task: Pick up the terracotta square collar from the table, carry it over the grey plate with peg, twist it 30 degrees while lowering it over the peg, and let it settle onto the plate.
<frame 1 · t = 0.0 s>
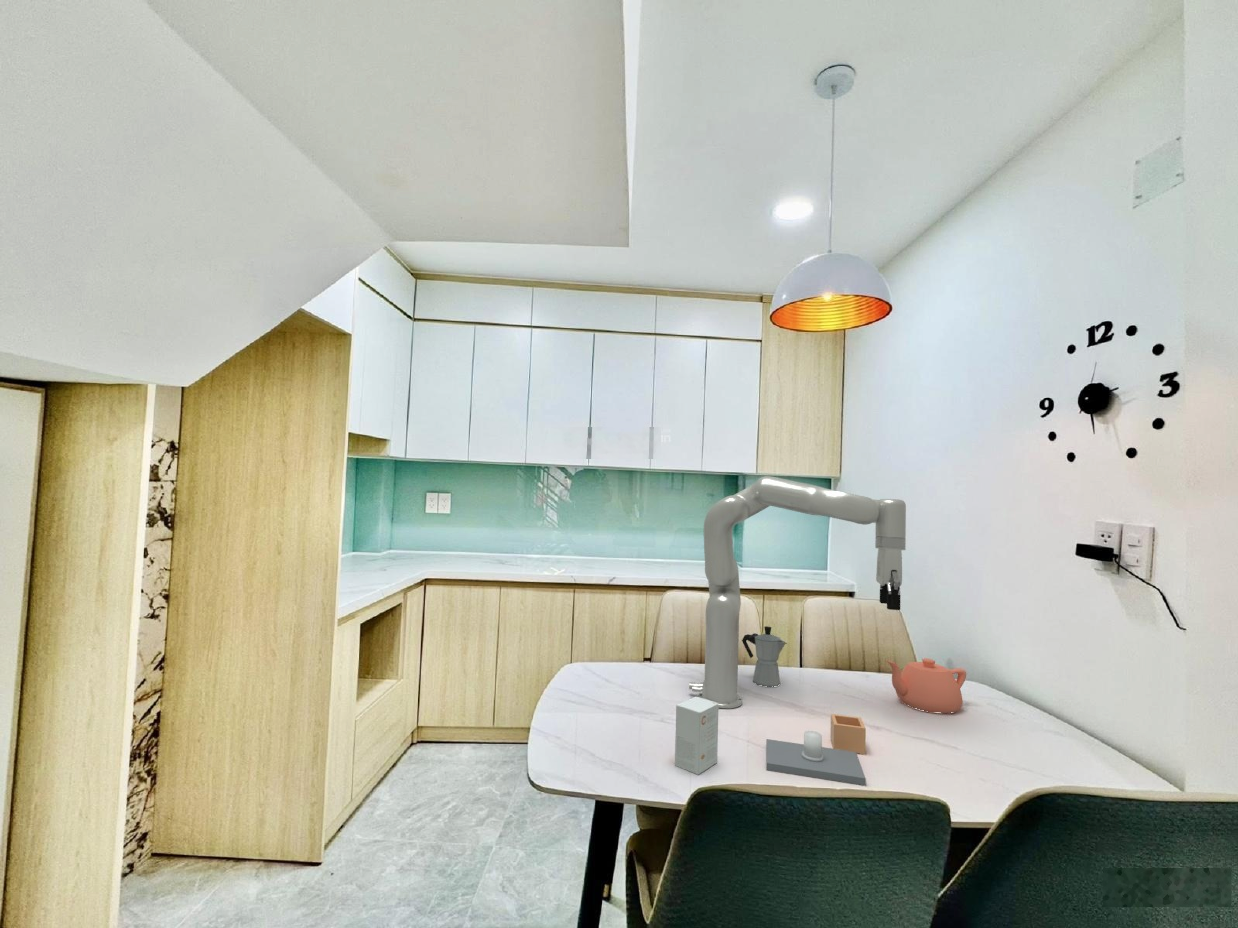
hand: (889, 606, 154), 31 cm above the table, tool pointing down, fingers open, 9 cm apart
small box: (695, 765, 123), on the table
grey plate with peg: (812, 764, 126), on the table
coffee maker: (763, 683, 182), on the table
teapot: (925, 705, 167), on the table
collar: (847, 746, 136), on the table
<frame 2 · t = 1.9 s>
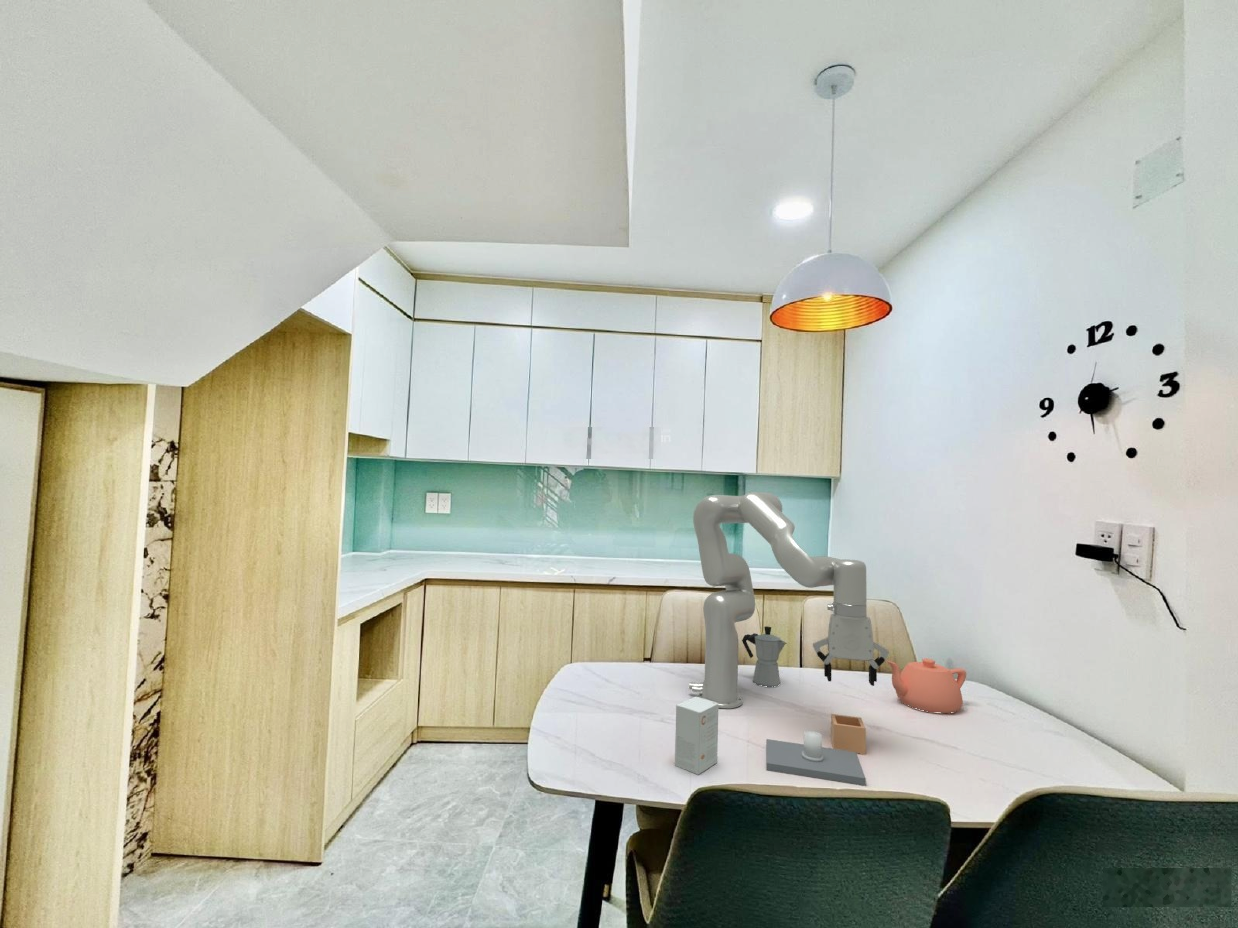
hand: (850, 682, 136), 15 cm above the table, tool pointing down, fingers open, 9 cm apart
nothing on the table moved.
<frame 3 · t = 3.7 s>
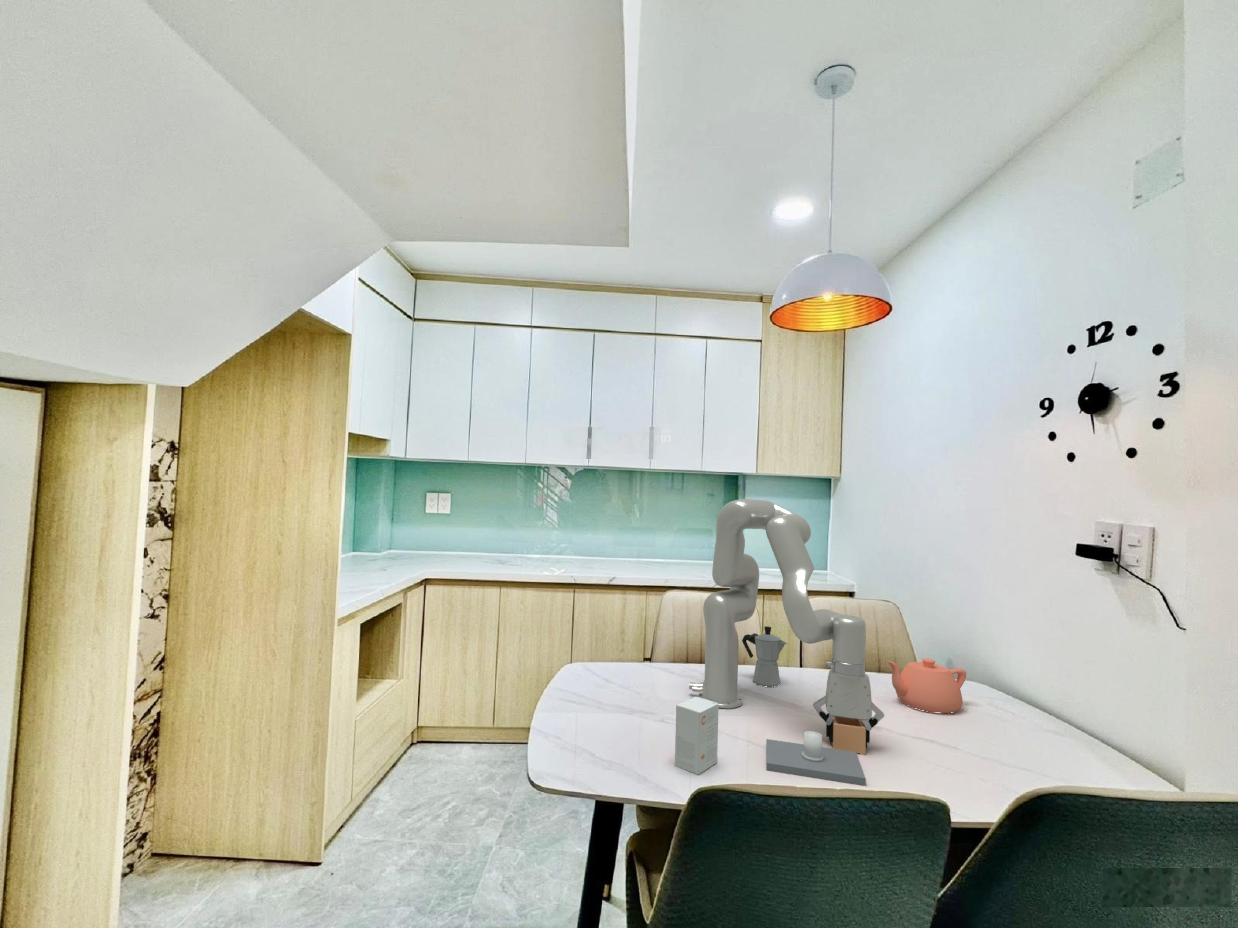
hand: (847, 742, 136), 1 cm above the table, tool pointing down, fingers closed on collar, 7 cm apart
collar: (847, 746, 136), on the table, touching gripper
everything else where it was.
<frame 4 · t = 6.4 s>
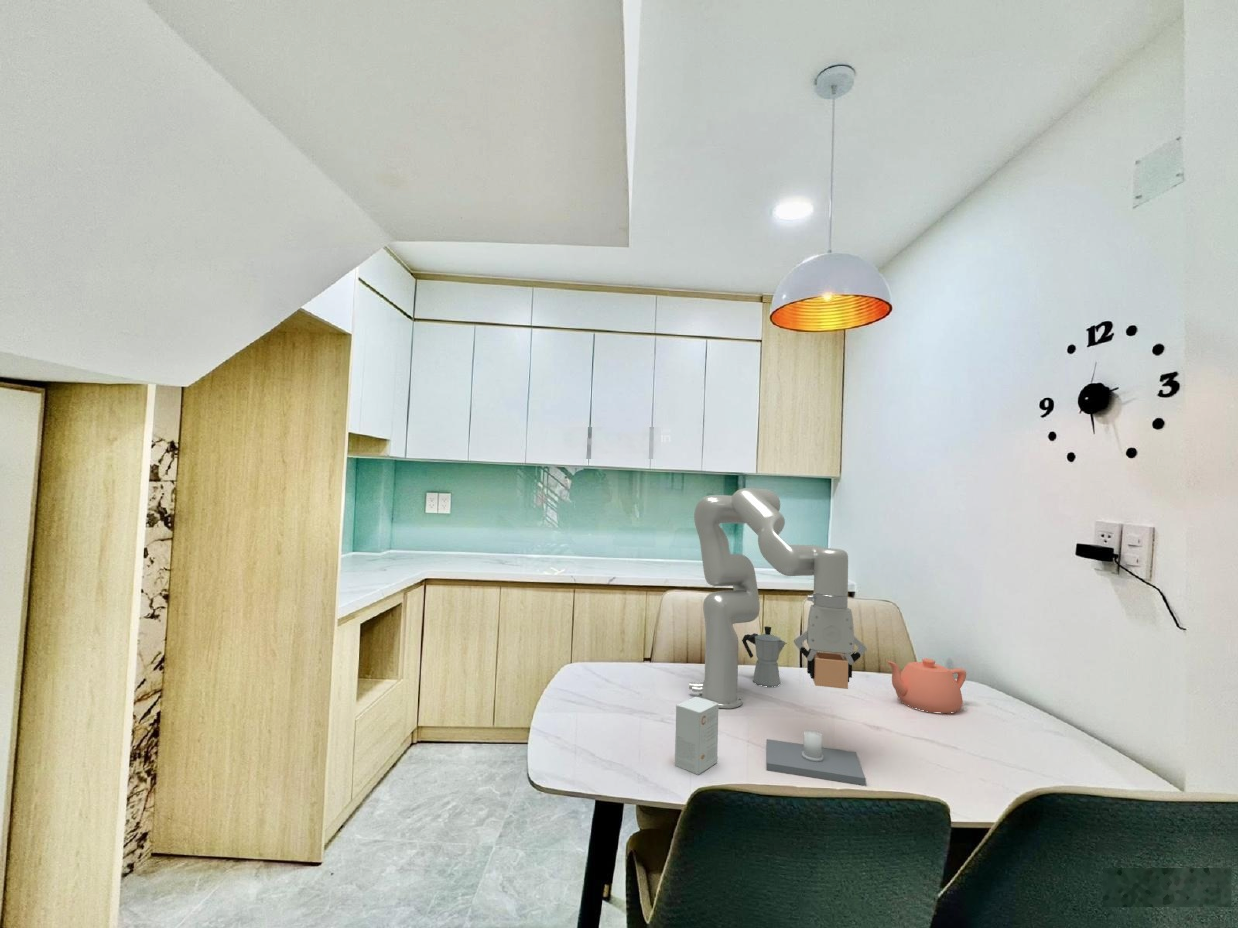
hand: (829, 678, 131), 18 cm above the table, tool pointing down, fingers closed on collar, 7 cm apart
collar: (829, 682, 131), point 17 cm above the table, touching gripper
everything else where it was.
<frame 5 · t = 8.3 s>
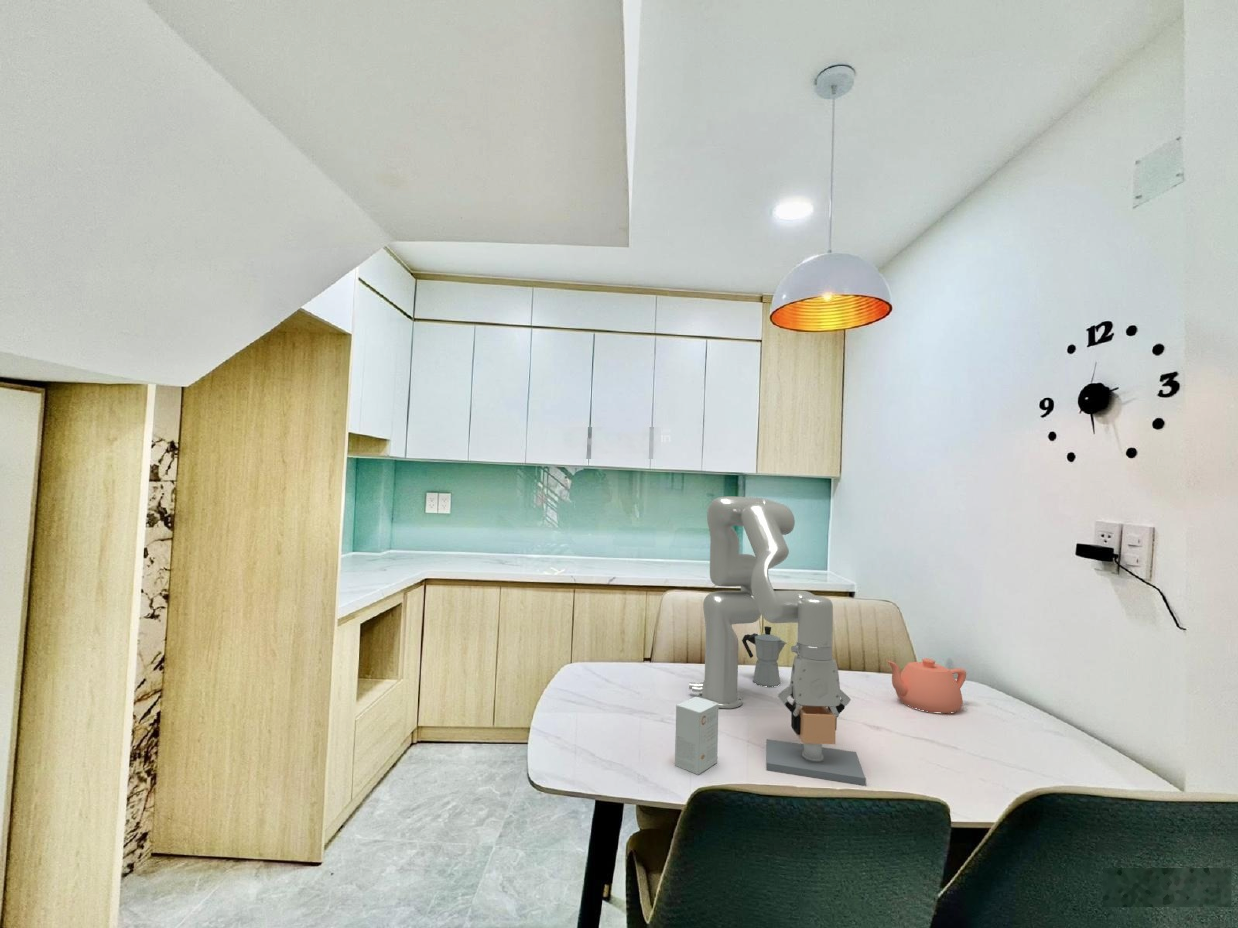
hand: (813, 732, 126), 7 cm above the table, tool pointing down, fingers closed on collar, 7 cm apart
collar: (813, 737, 126), point 6 cm above the table, touching gripper
everything else where it was.
when the fingers open (4 cm above the table, at t = 9.5 s): collar drops 1 cm, resting on grey plate with peg.
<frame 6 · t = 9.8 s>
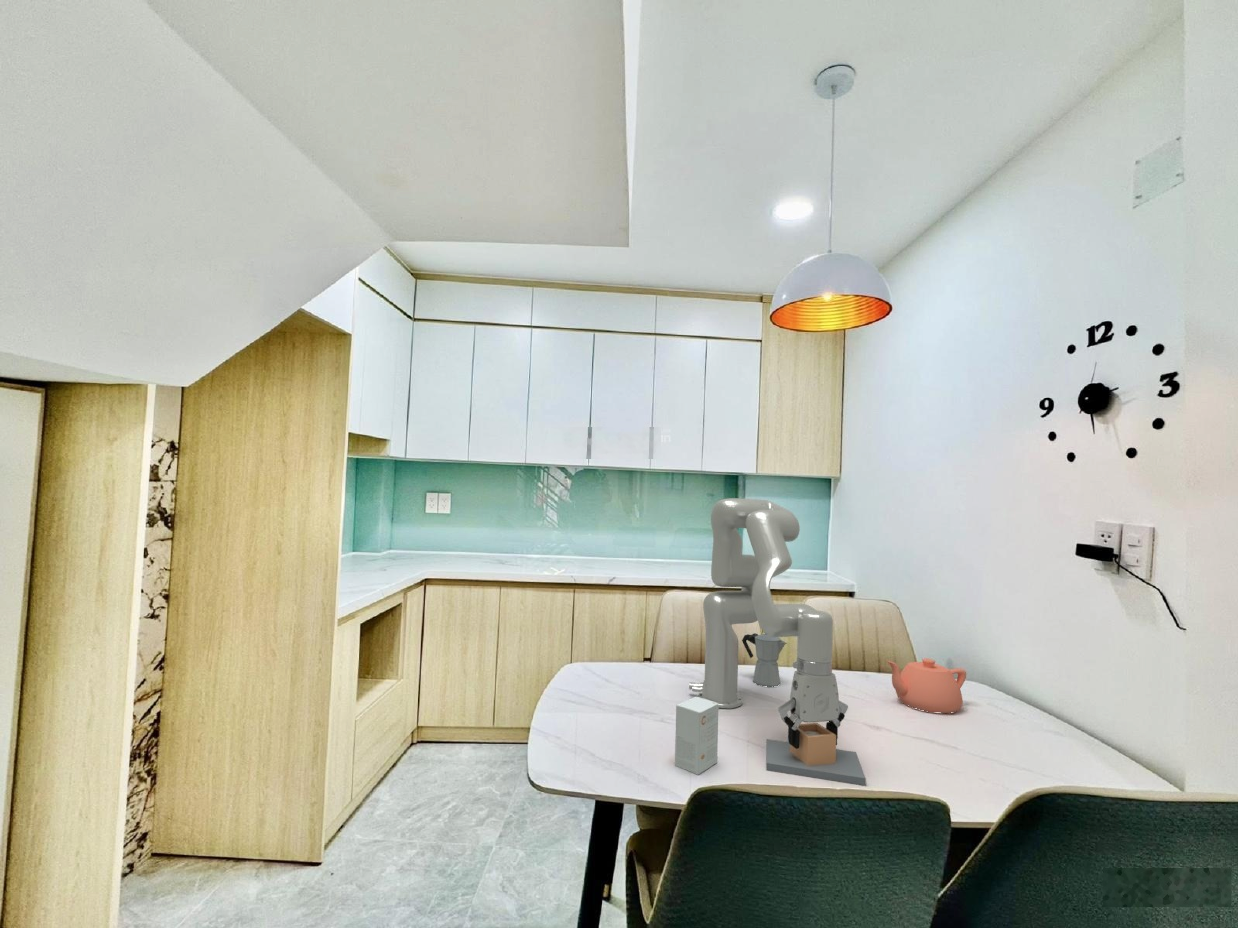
hand: (812, 744, 126), 4 cm above the table, tool pointing down, fingers open, 9 cm apart
collar: (812, 757, 126), point 1 cm above the table, touching grey plate with peg
everything else where it was.
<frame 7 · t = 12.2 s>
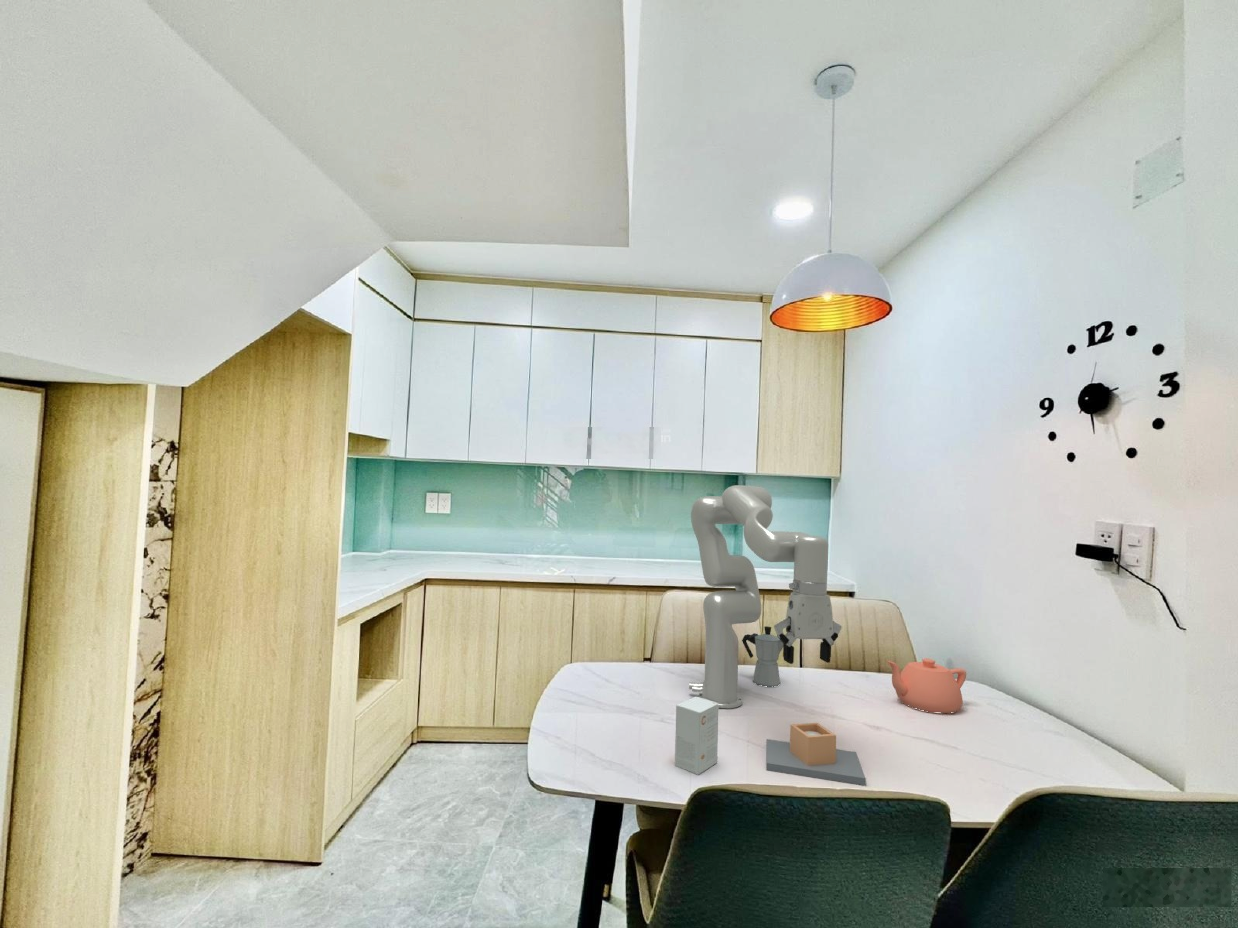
hand: (806, 661, 132), 21 cm above the table, tool pointing down, fingers open, 9 cm apart
nothing on the table moved.
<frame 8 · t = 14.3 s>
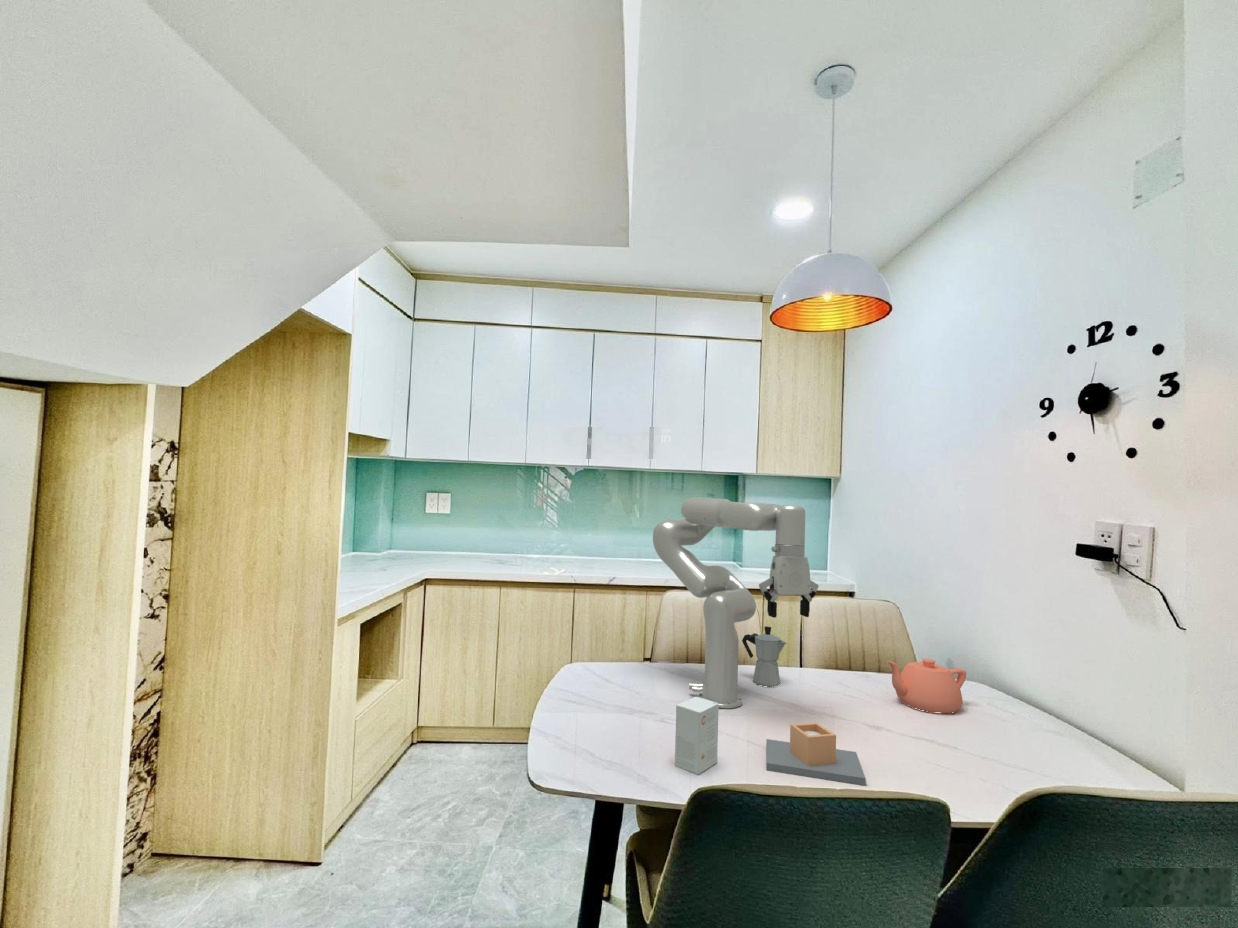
hand: (788, 616, 149), 28 cm above the table, tool pointing down, fingers open, 9 cm apart
nothing on the table moved.
at the end: collar 0.1 cm from the grey plate with peg (horizontally); collar 0.1 cm off-centre on the grey plate with peg, point 1.5 cm above the grey plate with peg's base; the gripper is holding nothing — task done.
